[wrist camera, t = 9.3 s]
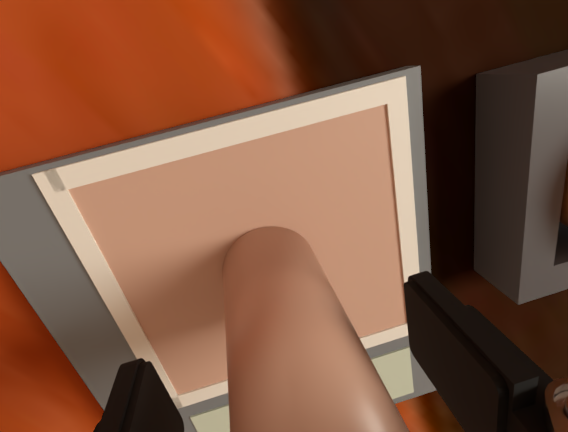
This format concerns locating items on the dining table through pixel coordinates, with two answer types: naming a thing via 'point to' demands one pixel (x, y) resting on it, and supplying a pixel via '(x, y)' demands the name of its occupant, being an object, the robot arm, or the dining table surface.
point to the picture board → (225, 233)
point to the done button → (565, 202)
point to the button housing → (522, 177)
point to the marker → (295, 345)
